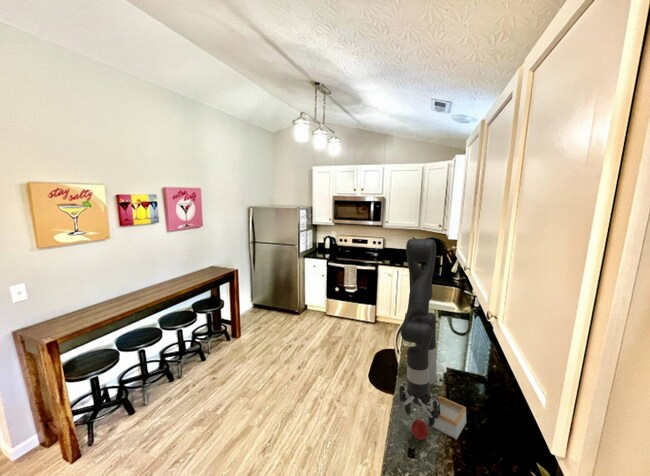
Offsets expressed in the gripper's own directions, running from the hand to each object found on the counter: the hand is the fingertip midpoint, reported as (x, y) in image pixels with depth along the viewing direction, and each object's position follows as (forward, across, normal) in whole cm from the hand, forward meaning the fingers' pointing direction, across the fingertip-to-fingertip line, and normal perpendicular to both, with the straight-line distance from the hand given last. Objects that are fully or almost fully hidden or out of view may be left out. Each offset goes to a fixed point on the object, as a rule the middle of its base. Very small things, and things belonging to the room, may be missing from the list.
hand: (419, 419), depth 99 cm
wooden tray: (+8, -5, -15) cm, 17 cm away
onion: (+8, 0, 0) cm, 8 cm away
